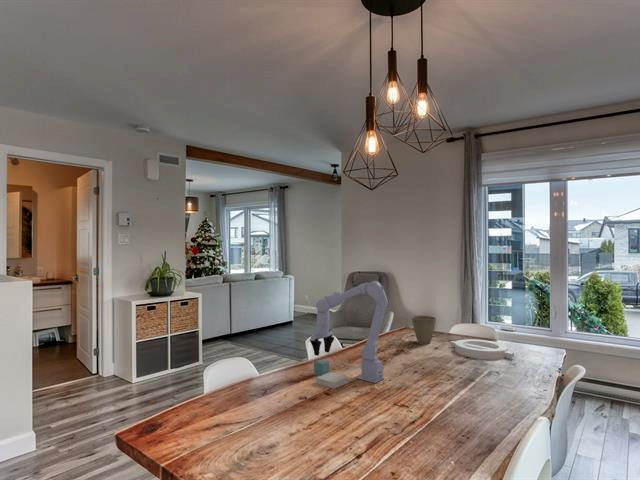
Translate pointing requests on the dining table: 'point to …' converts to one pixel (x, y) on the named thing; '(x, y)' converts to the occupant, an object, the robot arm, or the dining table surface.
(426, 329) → the plant pot
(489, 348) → the white circle with bar
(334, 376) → the plinth
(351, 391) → the dining table surface
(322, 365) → the teal block
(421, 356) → the dining table surface
